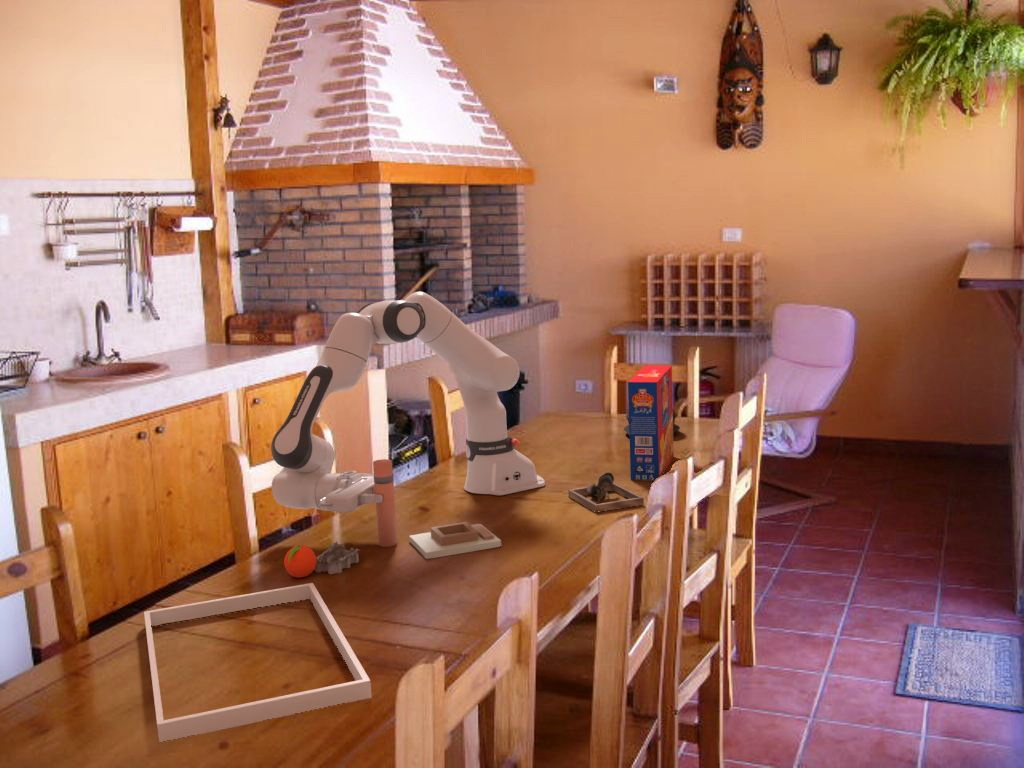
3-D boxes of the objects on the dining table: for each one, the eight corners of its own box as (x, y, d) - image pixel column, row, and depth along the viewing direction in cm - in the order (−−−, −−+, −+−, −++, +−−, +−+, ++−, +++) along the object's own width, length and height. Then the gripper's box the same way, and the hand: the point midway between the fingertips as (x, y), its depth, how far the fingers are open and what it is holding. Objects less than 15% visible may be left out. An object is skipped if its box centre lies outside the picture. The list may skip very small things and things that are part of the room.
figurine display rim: (614, 489, 286) (614, 482, 286) (643, 505, 271) (643, 497, 271) (568, 497, 282) (568, 489, 281) (595, 513, 266) (595, 505, 266)
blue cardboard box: (659, 481, 293) (656, 382, 288) (630, 480, 295) (627, 381, 291) (673, 456, 319) (671, 365, 315) (647, 456, 322) (645, 365, 317)
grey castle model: (338, 557, 243) (337, 540, 242) (364, 561, 239) (363, 544, 239) (308, 572, 234) (307, 554, 233) (335, 576, 230) (334, 558, 229)
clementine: (304, 585, 225) (301, 553, 224) (276, 582, 227) (273, 551, 226) (323, 572, 232) (321, 541, 231) (296, 570, 235) (293, 539, 234)
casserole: (631, 425, 366) (630, 401, 364) (685, 426, 360) (684, 402, 359) (616, 442, 342) (615, 416, 341) (674, 443, 337) (673, 417, 335)
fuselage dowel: (394, 539, 253) (389, 458, 249) (399, 545, 249) (394, 462, 245) (376, 542, 251) (370, 460, 248) (381, 548, 247) (375, 464, 244)
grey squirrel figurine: (620, 498, 274) (620, 483, 283) (604, 477, 273) (605, 463, 281) (596, 513, 276) (597, 497, 285) (580, 492, 275) (582, 477, 283)
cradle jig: (481, 530, 257) (480, 516, 256) (501, 546, 244) (500, 531, 243) (409, 541, 251) (408, 527, 250) (426, 559, 238) (425, 544, 237)
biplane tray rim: (313, 596, 218) (312, 582, 218) (371, 697, 172) (370, 680, 172) (145, 626, 207) (143, 611, 206) (159, 743, 161) (157, 724, 160)
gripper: (312, 491, 242) (367, 494, 237) (353, 468, 261) (405, 470, 256) (314, 517, 243) (369, 521, 238) (355, 493, 262) (406, 495, 257)
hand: (388, 494), depth 248 cm, fingers closed on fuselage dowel, 4 cm apart
